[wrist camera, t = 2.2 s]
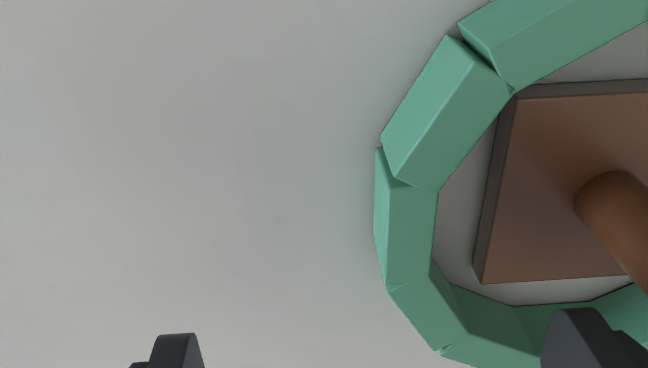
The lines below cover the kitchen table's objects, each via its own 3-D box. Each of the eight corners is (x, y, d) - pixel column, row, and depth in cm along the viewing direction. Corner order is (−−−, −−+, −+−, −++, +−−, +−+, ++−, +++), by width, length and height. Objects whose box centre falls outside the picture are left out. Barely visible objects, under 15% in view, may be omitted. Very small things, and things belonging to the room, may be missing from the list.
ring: (380, -51, 11) (398, -38, 9) (946, -77, 12) (1081, -69, 10) (369, 339, 19) (378, 392, 17) (711, 315, 20) (759, 365, 18)
